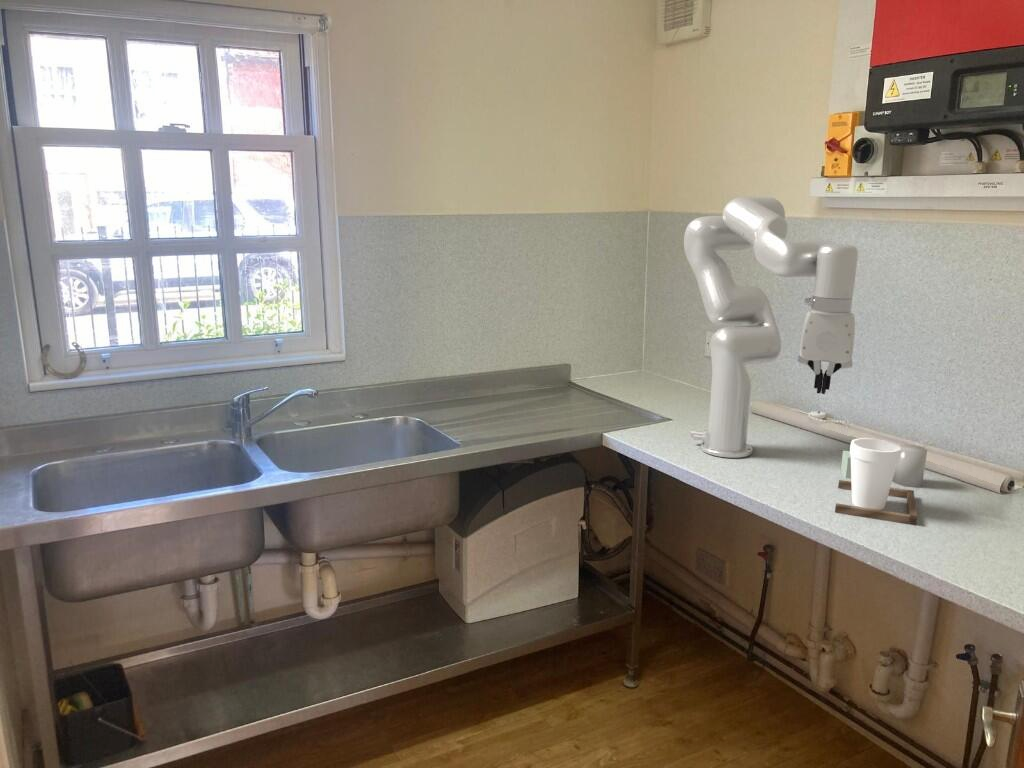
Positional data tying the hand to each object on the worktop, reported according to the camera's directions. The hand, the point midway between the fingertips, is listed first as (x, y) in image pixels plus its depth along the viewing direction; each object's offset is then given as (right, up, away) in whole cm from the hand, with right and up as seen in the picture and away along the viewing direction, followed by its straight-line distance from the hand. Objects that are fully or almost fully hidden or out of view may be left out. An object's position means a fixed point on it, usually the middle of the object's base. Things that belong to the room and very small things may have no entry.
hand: (821, 392), depth 164 cm
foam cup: (+10, -24, -1) cm, 25 cm away
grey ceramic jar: (+24, -20, +12) cm, 34 cm away
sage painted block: (+14, -19, +17) cm, 29 cm away
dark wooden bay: (+11, -23, -1) cm, 26 cm away
